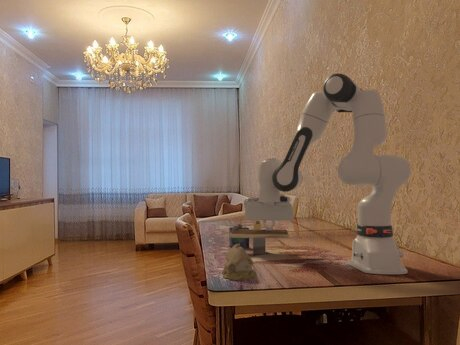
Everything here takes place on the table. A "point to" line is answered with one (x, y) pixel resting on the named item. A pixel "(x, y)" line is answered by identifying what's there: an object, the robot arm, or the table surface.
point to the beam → (258, 237)
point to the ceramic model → (238, 264)
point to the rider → (257, 226)
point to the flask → (242, 241)
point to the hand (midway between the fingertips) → (269, 231)
